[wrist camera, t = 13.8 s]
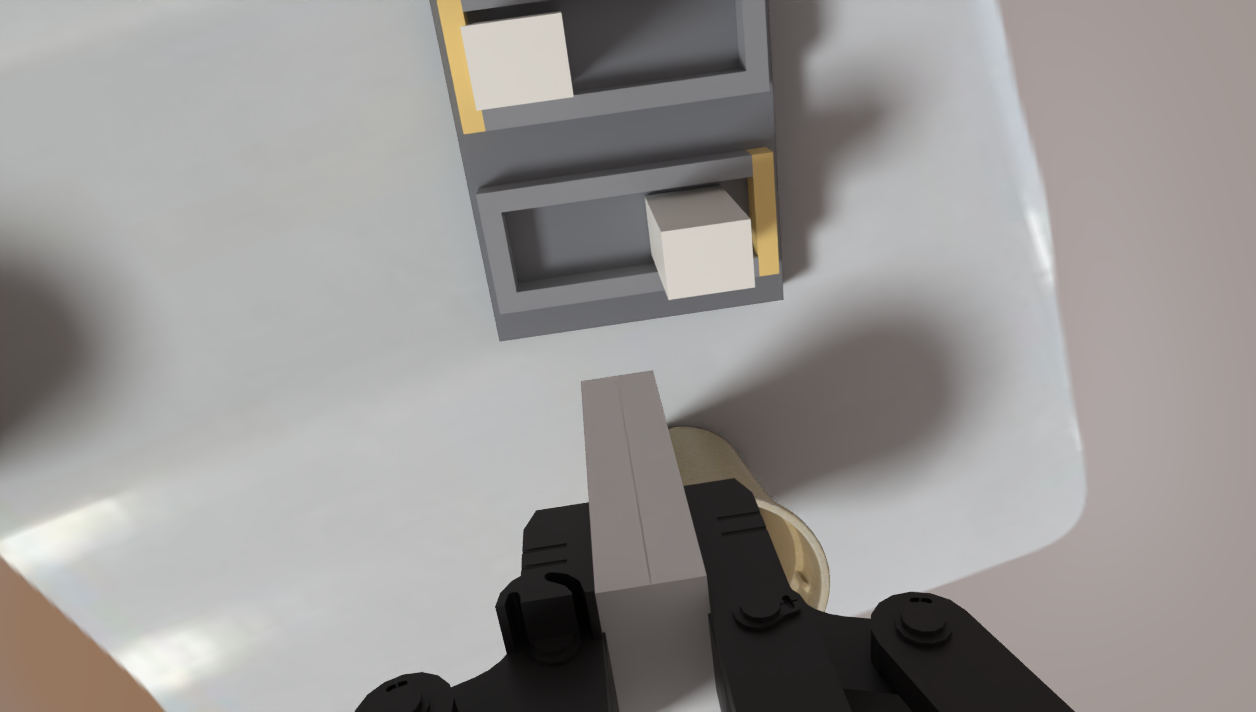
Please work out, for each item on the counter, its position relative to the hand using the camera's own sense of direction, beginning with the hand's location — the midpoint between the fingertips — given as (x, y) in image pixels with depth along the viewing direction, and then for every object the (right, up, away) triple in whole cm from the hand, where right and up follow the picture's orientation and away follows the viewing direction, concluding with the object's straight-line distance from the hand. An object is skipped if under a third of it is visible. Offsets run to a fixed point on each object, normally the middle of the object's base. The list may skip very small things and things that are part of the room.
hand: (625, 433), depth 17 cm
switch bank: (-1, +14, +14) cm, 19 cm away
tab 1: (-4, +13, +12) cm, 18 cm away
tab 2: (+2, +7, +15) cm, 17 cm away
